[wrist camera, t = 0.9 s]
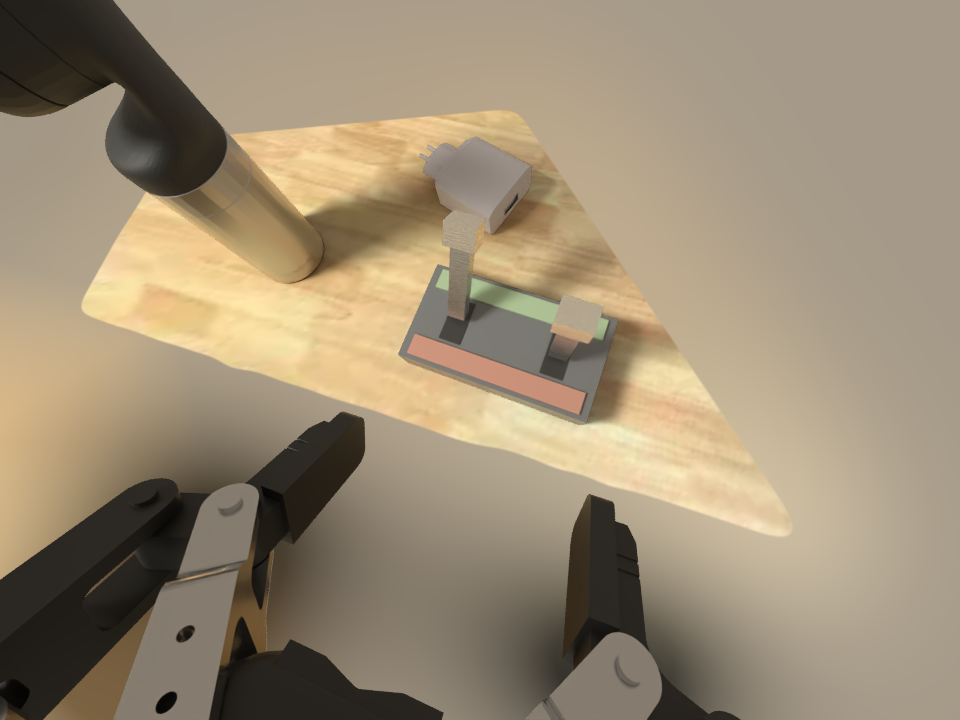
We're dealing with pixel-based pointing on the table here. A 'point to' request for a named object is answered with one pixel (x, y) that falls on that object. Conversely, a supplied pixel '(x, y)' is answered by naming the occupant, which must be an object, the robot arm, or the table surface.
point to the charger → (478, 179)
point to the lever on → (461, 258)
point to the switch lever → (573, 325)
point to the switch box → (507, 347)
